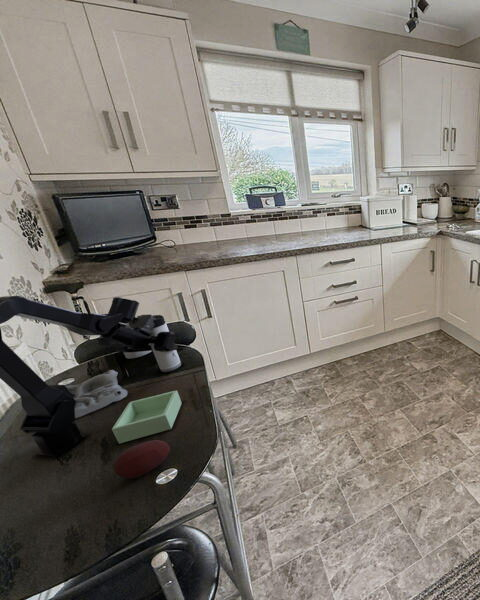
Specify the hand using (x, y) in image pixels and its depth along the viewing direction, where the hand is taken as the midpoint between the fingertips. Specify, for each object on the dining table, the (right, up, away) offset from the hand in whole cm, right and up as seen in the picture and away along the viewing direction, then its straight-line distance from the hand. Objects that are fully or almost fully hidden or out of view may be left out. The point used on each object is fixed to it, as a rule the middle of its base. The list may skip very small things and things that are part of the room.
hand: (165, 348), depth 114 cm
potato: (+25, -21, -41) cm, 52 cm away
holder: (+15, -16, -25) cm, 34 cm away
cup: (-21, -4, +16) cm, 27 cm away
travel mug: (+1, -7, +2) cm, 8 cm away
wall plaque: (-16, -14, -11) cm, 24 cm away
